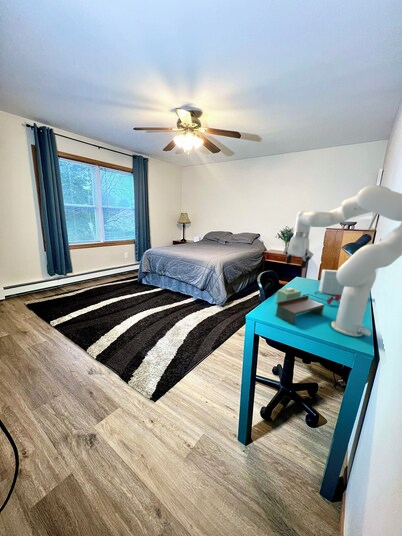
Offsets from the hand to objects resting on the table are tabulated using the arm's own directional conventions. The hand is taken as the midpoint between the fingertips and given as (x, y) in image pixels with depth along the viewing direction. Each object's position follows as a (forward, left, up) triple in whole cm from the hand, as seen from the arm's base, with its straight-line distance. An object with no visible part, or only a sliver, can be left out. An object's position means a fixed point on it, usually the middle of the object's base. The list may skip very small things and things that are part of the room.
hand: (295, 265), depth 121 cm
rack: (-13, +9, -23) cm, 28 cm away
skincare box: (-2, -45, -23) cm, 51 cm away
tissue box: (0, +2, -23) cm, 23 cm away
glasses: (-4, -25, -23) cm, 34 cm away
